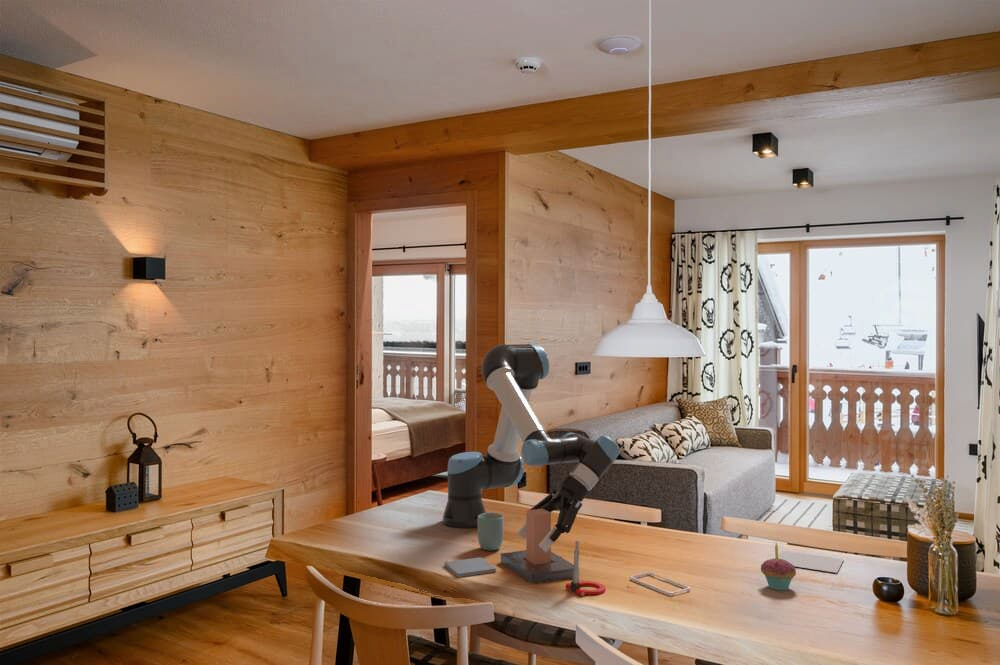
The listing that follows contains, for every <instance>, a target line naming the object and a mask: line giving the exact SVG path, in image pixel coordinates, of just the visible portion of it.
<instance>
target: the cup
mask: <svg viewBox="0 0 1000 665" xmlns="http://www.w3.org/2000/svg"><path fill="white" fill-rule="evenodd" d="M504 520H505V519H504V515H503V514H502V513H497V512H486V513H483V514H480V515H478V518H477V527H476V528H477V529H476V530H477V542H478V545H479V547H480V548H481V549H482V550H483V551H487V552H488V551H491V552H493V551H497V550H499V549H501V547H502V545H503V541H504V532H505V531H504V529H505V528H504V527H505V526H504V524H505V523H504V522H505V521H504Z"/></svg>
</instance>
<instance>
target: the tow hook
mask: <svg viewBox="0 0 1000 665" xmlns="http://www.w3.org/2000/svg"><path fill="white" fill-rule="evenodd" d="M579 544H580V541H577V540H576V541H575V545H574V546H575V549H574V551H573V552H574V553H573V555H574V556H573V565H574V572H573V576H572V578H571V579H572V581H570V583H569V582H567V583H566V584H565V586H564V587H565V589H566V590H568V591H570V592H571V593H573V594H575V595H578V596H581V597H582V596H583V597H585V595H589V596H590V595H591V596H592V595H595V594H596V595H601V594H600V593H602V594H604V593H605V592H606V586H605V585H604V584H603V583H599V582H597V581H596V582H595V581H590V580H589V581H588V580H581V581H580V571H579V572H578V567H579V568H580V566H579V563H580V562H579V561H580V549H579ZM583 586H584V587H585V586H587V587H594V586H596V587H595V588H597V587H598V588H597V589H585V588H582V589H581V587H583ZM603 592H604V593H603Z"/></svg>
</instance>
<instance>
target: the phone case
mask: <svg viewBox="0 0 1000 665" xmlns="http://www.w3.org/2000/svg"><path fill="white" fill-rule="evenodd" d="M646 575H652V576H651V577H653V576H654V577H657V578H659V579H660V578H661V579H663V580H664V582H666V581H667V582H666V583H668V582H669V584H671V583H672V584H671V585H673V584H674V586H676V585H677V586H676V587H678V588H681V587H682V588H681V589H678V590H676V591H668V590H665V589H662V588H661V587H658V586H655V585H653V584H650V583H648V582H646V581H643V580H641V579H639V578H638V577H640V578H643V577H642V576H644V577H647V576H646ZM629 579H630V581H631V580H632V582H634V581H635V582H634V583H636V582H637V583H636V584H638V583H640V584H639V585H641V584H642V586H643V585H645V586H644V587H646V586H647V587H646V588H648V587H649V588H648V589H651V588H652V589H651V590H653V589H654V590H653V591H656V590H657V591H656V592H658V591H659V593H660V592H661V594H663V593H664V594H663V595H665V594H666V595H665V596H668V595H669V596H668V597H674V596H675V594H677V593H681V592H685V591H686V592H687V593H689V592H691V587H690V586H688V585H685V584H683V583H680V582H677V581H675V580H672V579H669V578H667V577H664V576H662V575H659V574H656V573H653V572H652V571H648V572H643V573H639V574H638V573H637V574H635V575H631V576H630V577H629Z"/></svg>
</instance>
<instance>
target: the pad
mask: <svg viewBox="0 0 1000 665" xmlns="http://www.w3.org/2000/svg"><path fill="white" fill-rule="evenodd" d="M443 563H444V565H445V566H446V567H447V568H446V567H445V566H444V565H443V566H444V567H445V568H446V569H447V570H448V571H449V572H451V573H452V574H453V575H454V574H455V575H454V576H456V578H464V577H463V576H465V577H471V575H472V576H478V575H477V574H480V575H486V574H485V573H487V574H491V573H492V574H493V572H494V573H496V572H497V568H496V567H494V566H493V565H492V564H490V563H489V562H488V561H486V560H485V559H484V558H482V557H481V556H479V557H474V558H465V559H459V560H458V559H457V560H449V561H444V562H443Z"/></svg>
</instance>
